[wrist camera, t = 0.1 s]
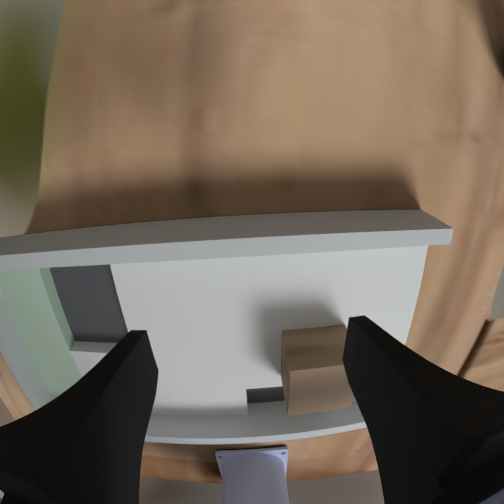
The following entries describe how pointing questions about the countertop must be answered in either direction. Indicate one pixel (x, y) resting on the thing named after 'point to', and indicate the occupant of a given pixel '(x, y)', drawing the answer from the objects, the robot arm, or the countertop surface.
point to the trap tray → (209, 308)
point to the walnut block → (314, 370)
